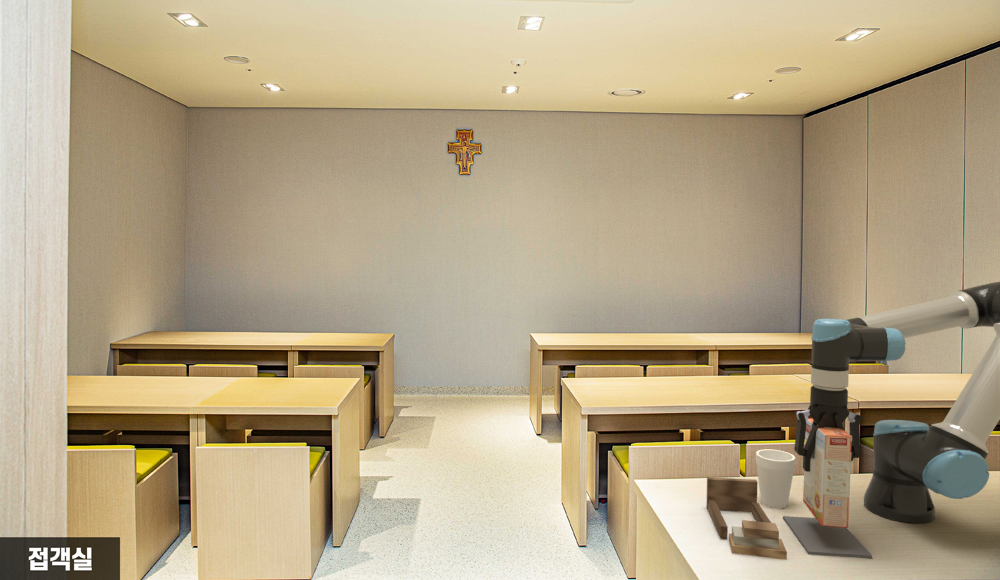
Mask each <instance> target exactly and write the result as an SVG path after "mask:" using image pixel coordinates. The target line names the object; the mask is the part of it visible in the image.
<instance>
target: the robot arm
mask: <svg viewBox="0 0 1000 580" xmlns="http://www.w3.org/2000/svg"><path fill="white" fill-rule="evenodd" d="M958 327H959V328H962V329H964V330H965V329H967V330H968V329H972V328H979V327H987V328H988V327H990V328H993V329H994V331H995V333H996V335H995V337H994V339H993V340H992V341H991V343H990V346H989V347H988V348H987V350H986V352H985V353H984V355H983V356H982V358H981V360H980V361H979V363H978V365H977V366H976V368H975V369H974V370H973V373H972V374H971V375H970V377H969V379H968V381H967V383H966V384H965V385H964V387H963V389H962V390H961V392H960V394H959V395H958V396H957V398H956V400H955V401H954V403H953V405H952V406H951V408H950V409H949V411H948V413H947V414H946V416H945V418H944V419H943V421H941V422H938V423H934V424H933V423H932V424H931V425H929V424H928V423H926V422H925V423H924V422H921V421H914V420H905V419H904V420H903V419H883V420H879V421H877V422H876V423H875V424H874V431H873V434H872V436H873V450H872V451H873V455H872V456H873V457H872V458H873V459H872V477H871V480H870V482H869V483H868V486H867V488H866V490H865V492H864V495H863V505H864V507H865V508H866V509H867V510H868V511H870V512H872V513H873V514H876V515H877V516H880V517H883V518H885V519H889V520H893V521H898V522H903V523H911V524H912V523H913V524H925V523H930V522H933V521H934V520H935V518H936V517H935V515H936V509H935V505H934V502H933V499H932V497H931V493H930V491H932V492H933V493H936V494H938V495H942V496H944V497H946V498H949V499H955V500H961V499H962V500H963V499H965V498H967V499H968V498H971V497H973V496H975V495H977V494H979V493H980V492H981V491H982V490H983V489H984V488H985V486H986V485H987V483H988V481H989V479H990V472H989V468H990V467H989V464H988V462H987V461H986V459H987V457H988V455H989V449H988V448H987V446H986V442H987V441H988V439H989V438H990V436H991V434H992V432H993V431H994V429H995V427H996V426H997V425H998V423H999V421H1000V281H996V282H989V283H985V284H981V285H977V286H972V287H967V288H964V289H960V290H956V291H953V292H951V293H950V294H949V295H948V297H944V298H939V299H934V300H930V301H925V302H920V303H916V304H912V305H908V306H903V307H899V308H894V309H889V310H885V311H884V310H883V311H880V312H876V313H872V314H867V315H861V316H858V317H853V318H848V319H839V318H819V319H816V320H815V321H814V322H813V325H812V331H811V371H810V374H811V375H810V383H811V387H810V396H809V397H810V400H809V401H810V402H809V406H808V408H807V409H806V410H802V411H801V410H796V411H795V417H796V420H797V421H796V430H795V441H794V452H795V453H796V454H797V455H798V456H802V469H803V471H804V470H805V471H807V480H806V483H807V484H808V485H809V486H810V487H814V471H815V459H814V458H813V457H812V454H813V451H814V449H815V444H816V431H817V429H818V428H824V427H834V428H838V429H843V430H844V431H845V428H844V422H845V420H846V419H847V420H848V421H849V422H848V423H849V426H848V427H849V435H851V436H852V449H851V463H852V462H853V461H854V459H859V458H861V455H862V453H861V432H860V430H861V427H860V425H861V422H862V420H863V416H862V415H860V414H859V413H857V412H850V410H849V409H848V400H849V399H848V398H849V391H848V389H847V388H848V387H849V375H850V374H849V373H850V372H849V369H850V362H864V361H865V362H883V363H884V362H885V363H886V362H890V361H891V362H892V361H898V360H900V359H901V358H902V357H903V356H904V354H905V351H906V339H907V338H911V337H916V336H920V335H921V336H922V335H925V334H930V333H935V332H939V331H944V330H948V329H952V328H958ZM809 417H811V419H813V420H814V421H813V423H812V428H811V431H810V434H809V436H808V439H807V441H806V444H805V433H806V421H807V420H808V418H809ZM816 425H818V426H816ZM929 490H930V491H929Z"/></svg>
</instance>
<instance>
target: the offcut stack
mask: <svg viewBox="0 0 1000 580" xmlns="http://www.w3.org/2000/svg"><path fill="white" fill-rule="evenodd" d="M779 537H780V531H779V528H778V525H777V524H776V522H775V523H774V522H771V523H767V522H757V521H756V520H745V519H742V520H741V526H734V525H731V533H730V532H729V534H728V542H729V546H730V550H731V554H733V555H734V554H735V555H742V556H743V555H744V556H751V557H761V558H768V559H769V558H771V559H777V560H788V558H787V553H788V552H787V549H786V547H785V545H784V542H783V539H782V538H779Z"/></svg>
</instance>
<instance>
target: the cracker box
mask: <svg viewBox="0 0 1000 580" xmlns="http://www.w3.org/2000/svg"><path fill="white" fill-rule="evenodd" d="M813 421H814V420H813V419H812V417H811V418H809V417H808V420H807V421H806V433H805V442H804V445H805V444H806V441H807V439H808V436H809V434H810V431H811V428H812V423H813ZM816 426H818V425H816ZM851 449H852V436H851V435H850V433H848V432H847V431H846V430H845V429H844V430H843V429H838V428H834V427H824V428H818V429H817V431H816V444H815V449H814V451H813V454H812V457H813V458H814V459H815V471H814V487H810V486H809V485H808V484H807V483H806V480H807V471H805V470H804V469H803V474H804V475H803V490H802V491H803V493H802V494H803V496H802V497H803V498H802V501H803V504H805V506H806V507H807V508H808V510H809V511H810V512H811V514H812V515H813V516H814V518H816V519H817V520H818V522H819V523H820V524H821V526H831V527H841V528H847V529H849V519H850V515H849V514H850V513H849V512H850V494H851V491H850V490H851V471H852V468H851V467H852V462H851Z"/></svg>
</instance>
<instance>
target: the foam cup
mask: <svg viewBox="0 0 1000 580" xmlns="http://www.w3.org/2000/svg"><path fill="white" fill-rule="evenodd" d="M796 458H797V457H796V456H795V455H794V454H792V453H790V452H787V451H784V450H779V449H772V448H770V449H768V448H767V449H764V448H763V449H760V450H757V451H756V452H755V463H756V468H757V469H756V470H757V479H758V488H759V494H760V495H759V496H760V503H761V504H762V505H763V506H765V507H768V508H771V509H778V510H779V509H782V510H783V509H786V508H787V507H788V505H789V500H790V493H791V488H792V481H793V476H794V471H795V468H796V462H797V461H796Z"/></svg>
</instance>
